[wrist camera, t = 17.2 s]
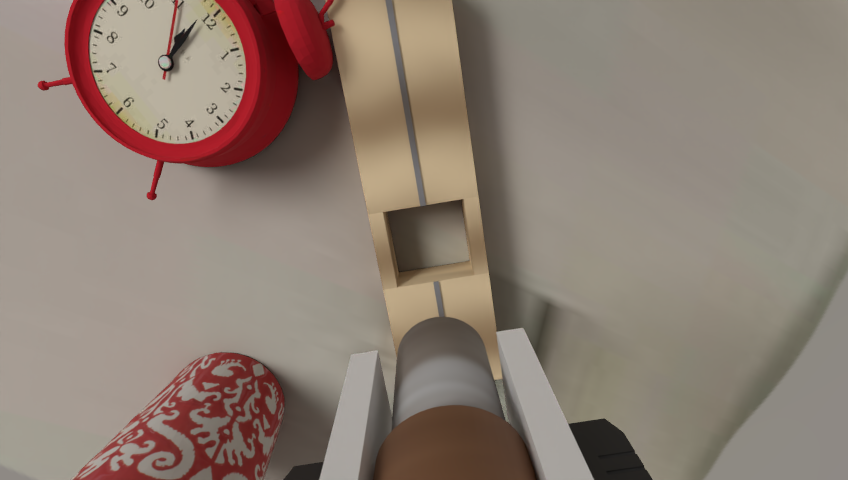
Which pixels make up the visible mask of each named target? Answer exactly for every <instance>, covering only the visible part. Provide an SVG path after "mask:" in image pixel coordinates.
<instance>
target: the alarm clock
mask: <svg viewBox="0 0 848 480" xmlns="http://www.w3.org/2000/svg"><path fill="white" fill-rule="evenodd" d="M333 1H334V0H327V2H326V3H325V5H324V6H323V8H322V10H321V11H320V13H319V14H318V12H317V10H316V8H315V7H314V5H313V4H312V2H311V1H310V0H274V2H273V0H73V3H72V5H71V7H70V11H69V14H68V18H67V22H66V29H65V55H66V61H67V67H68V71H69V74H70V77H68V78H63V79H62V80H58V81H53V82H48V83H47V82H45V81H40V82H39V83H38V87H39V88H40V89H41V90H48V89H49V87H53V86H59V85H68V84H73V86H74V88H75V90H76V93H77V95H78V97H79V99H80V100H81V102H82V104H83V106H84V107H85V109H86V110H87V111H88V113H89V114H90V116H91V117H92V118H93V119H94V121H95V122H96V123H97V124H98V125H99V126H100V127H101V128H102V129H103V130H104V131H105V132H106V133H107V134H108V135H110V136H111V137H112V138H113V139H114V140H116V141H117V142H119V143H120V144H122V145H123V146H125V147H126V148H128V149H130V150H132V151H134V152H136V153H139V154H141V155H144V156H146V157H149V158H152V159H155V160H157V164H156V168H155V172H154V178H153V182H152V186H151V191H150V192H148V193H147V198H148V199H150V200H154V199H156V197H157V195H156V194H155V190H156V187H157V183H158V180H159V178H160V175H161V171H162V168H163V164H164V162H169V163H184V164H188V165H194V166H201V167H218V166H226V165H231V164H234V163H238V162H240V161H243V160H246V159H248V158H250V157H252V156H254V155H256V154H257V153H259V152H261V151H262V150H263V149H265V148H266V147H267V146H268V145H269V144H271V143H272V142H273V141H274V140H275V138H276V137H277V136H278V135H279V134H280V132H281V131H282V129H283V128H284V126H285V124H286V123H287V121H288V119H289V117H290V115H291V112H292V110H293V107H294V104H295V100H296V96H297V90H298V78H299V73H298V63H299V65H300V66H301V67H302V69H303V70H304V72H305V73H306V75H307V76H309V77H310V78H311V79H312V80H317V79H320V78H322V77H324V76H325V75H327V74H328V73H329V71H330V70H331V68H332V65H333V52H332V47H331V43H330V39H329V36H328V33H327V30H326V29H328V28H331V27H333V26H335V23H334V21H333V20H330V21H327V22H325V23H324V14H325V13H326V11H327V10H328V9H329V7H330V6H331V5H332V3H333Z"/></svg>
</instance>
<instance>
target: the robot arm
mask: <svg viewBox="0 0 848 480" xmlns="http://www.w3.org/2000/svg"><path fill="white" fill-rule="evenodd" d="M496 335H497V342H498V349H499V357H500V364H501V371H502V379H503V386H504V393H505V401H506V408H507V415H508V419H509V422H510V425H511V426H512V427H513V428H514V429H515V430H516V431H517V432H518V433H519V435H520V436H521V437H522V439H523V441H524V442H525V444H526V447H527V450H528V453H529V456H530V459H531V462H532V465H533V468H534V472H535V475H536V478H537V480H652V478H651V476H650V475H649V473H648V472H647V470H645V468H644V465H643V463H642V462H641V460H640V459H639V457H638V455H637V454H635V451H634V449H633V447H632V446H631V444H630V442H629V441H628V439H627V438H626V436H625V434H624V433H623V432H622V431H621V430H619V429H618V428H617V427H615V426H614V425H612V424H611V423H610V422H608V421H607V420H606V419H598V420H591V421H585V422H578V423H571V424H568V423H567V421H566V419H565V416H564V414H563V412H562V410H561V408H560V406H559V403H558V401H557V399H556V397H555V395H554V393H553V391H552V388H551V386H550V384H549V382H548V380H547V378H546V376H545V373H544V371H543V369H542V367H541V365H540V363H539V361H538V358H537V356H536V354H535V352H534V350H533V348H532V345H531V343H530V341H529V339H528V337H527V335H526V333H525V330H524V328H518V329H512V330H505V331H499V332H496ZM391 429H392V415H391V410H390V406H389V401H388V396H387V391H386V387H385V382H384V377H383V372H382V368H381V363H380V358H379V354H378V350H377V351H370V352H364V353H357V354H351V357H350V361H349V365H348V369H347V373H346V377H345V381H344V385H343V389H342V393H341V397H340V400H339V404H338V408H337V412H336V416H335V420H334V424H333V428H332V432H331V436H330V440H329V444H328V448H327V451H326V455H325V459H324V462H321V463H314V464H307V465H300V466H294V467H293V468H292V470H291V471H290V472H289V473H288V475H287V476H286V477H285V478H284V480H373V477H374V469H375V462H376V458H377V455H378V451H379V449H380V447H381V445H382V443H383V442H384V440H385V439H386V437H387V436H388V435H389V434H390V433H391Z"/></svg>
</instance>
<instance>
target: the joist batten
mask: <svg viewBox="0 0 848 480" xmlns="http://www.w3.org/2000/svg"><path fill="white" fill-rule="evenodd" d="M326 2H327V0H325V3H326ZM327 13H328V18H329V21H330V20H333V21H334V23H335V26H333V27H331V33H332V38H333V43H334V47H335V52H336V57H337V62H338V67H339V72H340V77H341V82H342V87H343V92H344V97H345V102H346V107H347V112H348V117H349V122H350V127H351V132H352V137H353V142H354V147H355V152H356V157H357V162H358V167H359V172H360V177H361V182H362V187H363V192H364V197H365V202H366V207H367V212H368V217H369V221H370V226H371V231H372V236H373V241H374V246H375V251H376V256H377V261H378V266H379V271H380V276H381V281H382V286H383V291H384V296H385V301H386V306H387V311H388V316H389V321H390V326H391V331H392V336H393V341H394V346H395V351H396V356H397V353H398V348H399V344H400V342H401V340H402V338H403V337H404V335H405V334H406V333H407V332H408V330H410V329H411V328H412V327H413V326H414V325H416V324H417V323H419V322H421V321H423V320H426V319H429V318H433V317H452V318H456V319H459V320H461V321H464V322H465V323H467V324H469V325H470V326H471V327H473V328H474V329H475V330H476V331H477V332H478V334H479V335H480V337H481V338H482V340H483V343H484V345H485V349H486V352H487V356H488V359H489V363H490V367H491V370H492V374H493V377H494V380H498V379H502V371H501V364H500V357H499V349H498V342H497V335H496V332H497V329H496V322H495V315H494V307H493V300H492V293H491V285H490V278H489V270H488V263H487V256H486V248H485V241H484V234H483V226H482V219H481V211H480V204H479V197H478V189H477V182H476V175H475V167H474V160H473V152H472V145H471V138H470V130H469V123H468V116H467V108H466V101H465V93H464V86H463V79H462V71H461V64H460V57H459V49H458V42H457V34H456V27H455V20H454V12H453V5H452V0H334V1H333V3H332V5H331V6H330V7H329V9H328V10H327ZM460 199H461V203H462V210H463V217H464V224H465V230H466V237H467V244H468V251H469V258H470V261H467V262H461V263H454V264H448V265H442V266H436V267H429V268H423V269H417V270H411V271H405V272H399V271H398V266H397V261H396V256H395V250H394V245H393V240H392V234H391V229H390V224H389V219H388V213H387V211H393V210H399V209H405V208H411V207H417V206H426V205H430V204H436V203H442V202H448V201H454V200H460Z"/></svg>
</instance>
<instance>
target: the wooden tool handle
mask: <svg viewBox="0 0 848 480" xmlns="http://www.w3.org/2000/svg"><path fill="white" fill-rule="evenodd" d="M373 480H537V478H536V475H535V472H534V468H533V465H532V462H531V459H530V456H529V453H528V450H527V447H526V444H525V442H524V441H523V439H522V437H521V436H520V435H519V433H518V432H517V431H516V430H515V429H514V428H513V427H512V426H511V425H510V424H509V423H508V422H506V421H505V417H504V414H503V410H502V406H501V403H500V399H499V395H498V392H497V388H496V385H495V381H494V377H493V374H492V370H491V367H490V363H489V359H488V356H487V352H486V349H485V345H484V343H483V340H482V338H481V337H480V335H479V334H478V332H477V331H476V330H475V329H474V328H473V327H471V326H470V325H469V324H467V323H465V322H464V321H461V320H459V319H456V318H452V317H433V318H429V319H426V320H423V321H421V322H419V323H417V324H416V325H414V326H413V327H412V328H411V329H410V330H408V332H407V333H406V334H405V335H404V337H403V338H402V340H401V342H400V344H399V348H398V353H397V364H396V377H395V390H394V403H393V416H392V429H391V433H390V434H389V435H388V436H387V437H386V439H385V440H384V442H383V443H382V445H381V447H380V449H379V451H378V455H377V458H376V462H375V469H374V477H373Z"/></svg>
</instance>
